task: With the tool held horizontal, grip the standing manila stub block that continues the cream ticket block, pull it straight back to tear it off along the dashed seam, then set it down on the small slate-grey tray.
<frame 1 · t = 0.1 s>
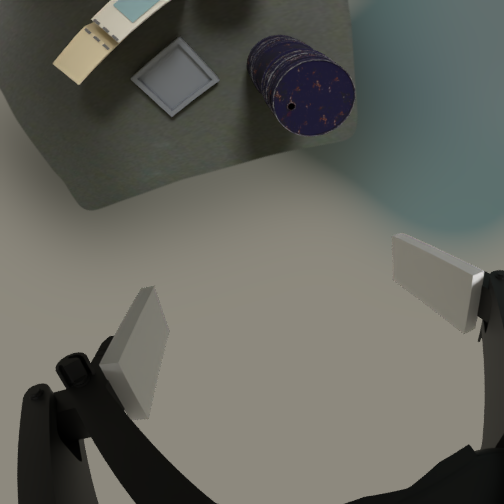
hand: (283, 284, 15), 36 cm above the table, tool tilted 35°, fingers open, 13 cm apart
stub: (104, 38, 29), on the table
storage jar: (278, 63, 38), on the table
stub tray: (175, 75, 36), on the table
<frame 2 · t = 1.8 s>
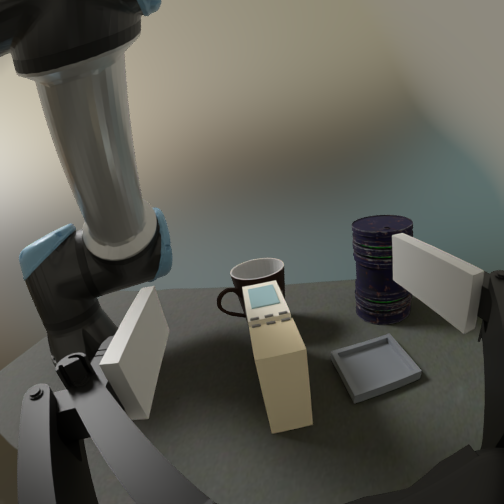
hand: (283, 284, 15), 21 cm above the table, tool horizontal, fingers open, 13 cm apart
stub: (287, 412, 30), on the table
ticket body: (276, 368, 38), on the table
coffee mug: (258, 324, 50), on the table
storage jar: (383, 309, 46), on the table
stub tray: (374, 369, 34), on the table
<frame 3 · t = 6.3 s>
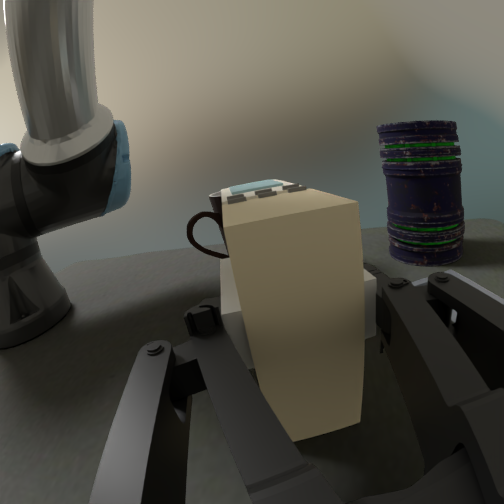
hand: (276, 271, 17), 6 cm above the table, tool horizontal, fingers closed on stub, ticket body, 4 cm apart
stub: (305, 400, 15), on the table, touching gripper
ticket body: (279, 328, 23), on the table
coffee mug: (250, 276, 35), on the table
storage jar: (426, 252, 31), on the table
stub tray: (443, 319, 19), on the table
when the fingers open (8 cm above the table, at t = 12.4 s): stub stays where it is, resting on stub tray.
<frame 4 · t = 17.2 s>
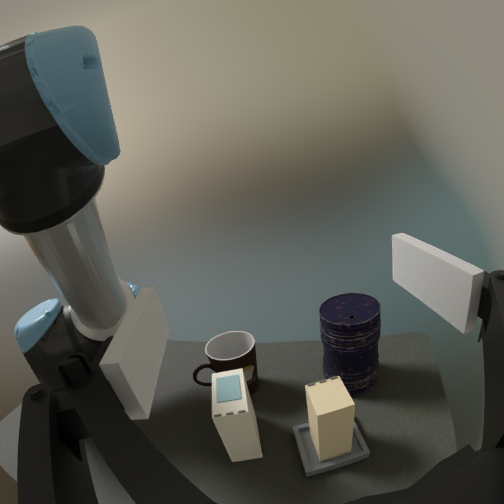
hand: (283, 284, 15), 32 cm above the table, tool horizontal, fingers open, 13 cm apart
stub: (330, 443, 35), point 1 cm above the table, touching stub tray
ticket body: (244, 438, 40), on the table
coffee mug: (233, 388, 52), on the table
storage jar: (350, 378, 48), on the table
stub tray: (329, 445, 35), on the table
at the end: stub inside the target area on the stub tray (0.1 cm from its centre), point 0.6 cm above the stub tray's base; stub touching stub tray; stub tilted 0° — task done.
